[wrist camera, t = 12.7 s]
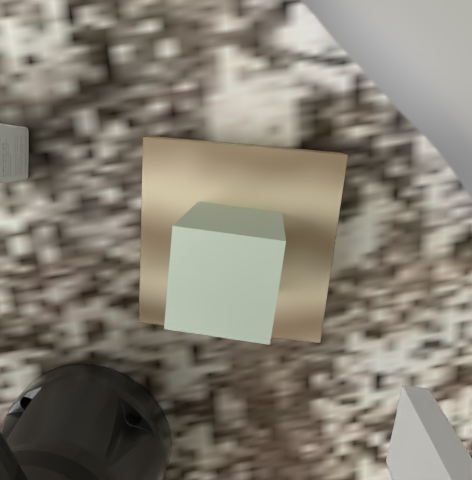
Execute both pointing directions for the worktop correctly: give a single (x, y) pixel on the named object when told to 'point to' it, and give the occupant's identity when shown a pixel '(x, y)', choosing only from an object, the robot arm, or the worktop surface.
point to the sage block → (225, 272)
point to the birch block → (247, 196)
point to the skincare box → (13, 153)
